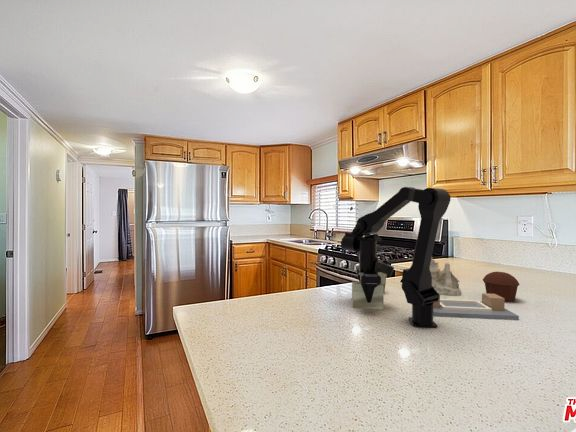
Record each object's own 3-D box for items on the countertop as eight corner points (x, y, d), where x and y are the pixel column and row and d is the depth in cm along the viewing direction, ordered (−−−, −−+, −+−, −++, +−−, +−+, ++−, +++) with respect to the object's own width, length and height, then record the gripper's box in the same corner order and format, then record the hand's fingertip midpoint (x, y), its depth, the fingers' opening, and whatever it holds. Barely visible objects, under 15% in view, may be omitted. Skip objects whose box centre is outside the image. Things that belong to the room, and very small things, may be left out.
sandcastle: (460, 297, 120) (459, 257, 121) (415, 293, 129) (414, 256, 130) (463, 291, 133) (462, 255, 134) (421, 287, 142) (421, 254, 143)
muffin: (526, 301, 116) (527, 274, 115) (506, 304, 111) (506, 276, 111) (494, 293, 127) (495, 269, 126) (475, 296, 122) (475, 270, 122)
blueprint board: (518, 319, 96) (519, 302, 96) (425, 315, 99) (425, 299, 99) (493, 305, 110) (493, 290, 110) (412, 302, 114) (413, 287, 114)
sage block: (383, 309, 106) (383, 285, 106) (353, 308, 107) (353, 284, 107) (381, 305, 111) (381, 282, 110) (351, 303, 112) (352, 281, 112)
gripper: (397, 257, 98) (397, 307, 98) (387, 250, 117) (386, 292, 117) (361, 257, 100) (361, 306, 100) (356, 250, 118) (356, 291, 118)
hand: (367, 298), depth 109 cm, fingers open, 9 cm apart
